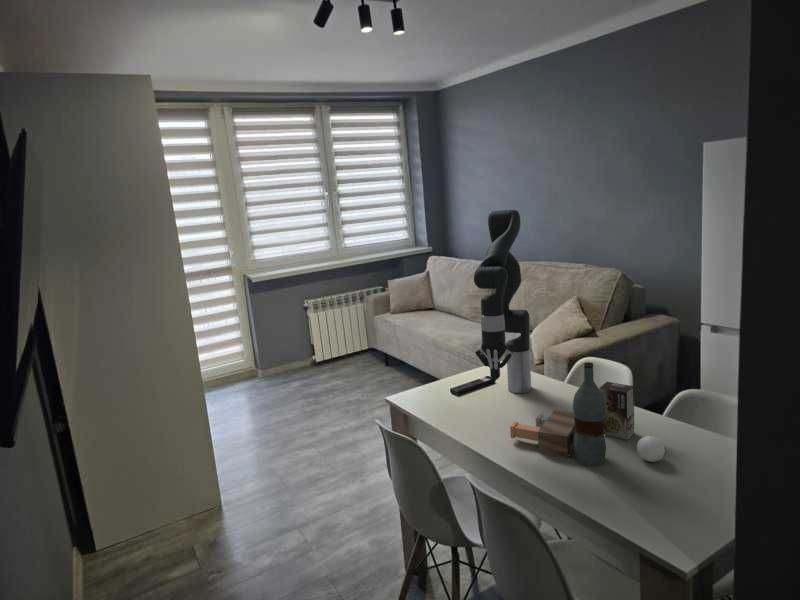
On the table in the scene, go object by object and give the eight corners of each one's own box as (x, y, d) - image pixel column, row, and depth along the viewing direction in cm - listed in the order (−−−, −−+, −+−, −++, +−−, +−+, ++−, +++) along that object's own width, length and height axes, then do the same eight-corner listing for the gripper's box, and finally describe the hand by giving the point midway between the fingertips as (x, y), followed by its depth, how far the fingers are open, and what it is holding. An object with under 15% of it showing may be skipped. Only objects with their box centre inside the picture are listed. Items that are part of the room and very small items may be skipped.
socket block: (555, 428, 181) (554, 409, 179) (582, 432, 176) (582, 413, 175) (538, 452, 166) (537, 431, 165) (567, 457, 161) (567, 436, 160)
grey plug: (540, 424, 181) (539, 413, 180) (579, 430, 174) (579, 419, 173) (536, 429, 178) (535, 418, 177) (576, 436, 170) (576, 424, 170)
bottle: (592, 470, 153) (590, 371, 147) (567, 458, 161) (564, 364, 155) (613, 459, 158) (612, 363, 152) (587, 448, 166) (586, 356, 160)
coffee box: (635, 432, 173) (635, 385, 170) (627, 440, 169) (627, 392, 165) (607, 426, 179) (606, 380, 176) (599, 433, 175) (598, 387, 172)
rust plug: (514, 432, 176) (514, 421, 176) (554, 439, 169) (554, 428, 169) (510, 437, 173) (510, 426, 172) (551, 445, 166) (550, 433, 165)
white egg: (670, 464, 153) (670, 440, 152) (646, 468, 152) (646, 444, 151) (649, 448, 163) (649, 426, 161) (626, 452, 162) (626, 429, 160)
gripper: (516, 326, 172) (518, 377, 175) (478, 324, 179) (481, 373, 182) (508, 332, 166) (510, 385, 169) (469, 329, 173) (472, 380, 176)
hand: (495, 378), depth 175 cm, fingers closed
